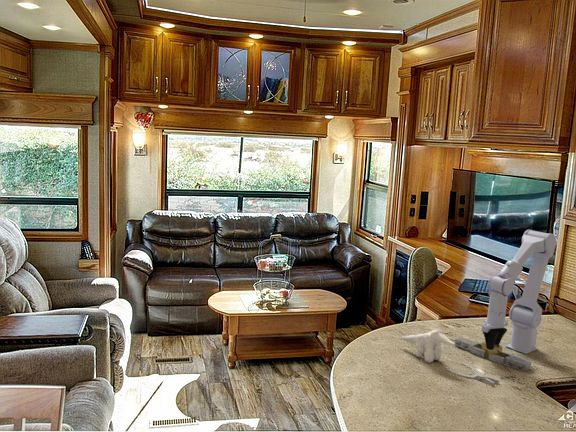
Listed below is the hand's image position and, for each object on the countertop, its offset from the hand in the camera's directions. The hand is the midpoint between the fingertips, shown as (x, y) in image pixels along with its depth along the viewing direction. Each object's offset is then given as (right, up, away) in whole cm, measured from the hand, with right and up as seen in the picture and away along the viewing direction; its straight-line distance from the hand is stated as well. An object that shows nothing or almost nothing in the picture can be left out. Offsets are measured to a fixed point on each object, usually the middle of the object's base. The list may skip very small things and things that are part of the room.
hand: (492, 348), depth 182 cm
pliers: (-12, -5, -16) cm, 21 cm away
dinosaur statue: (-25, -2, -4) cm, 26 cm away
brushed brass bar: (0, -3, +1) cm, 3 cm away
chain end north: (+4, -4, -5) cm, 8 cm away
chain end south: (-5, -2, +6) cm, 8 cm away
